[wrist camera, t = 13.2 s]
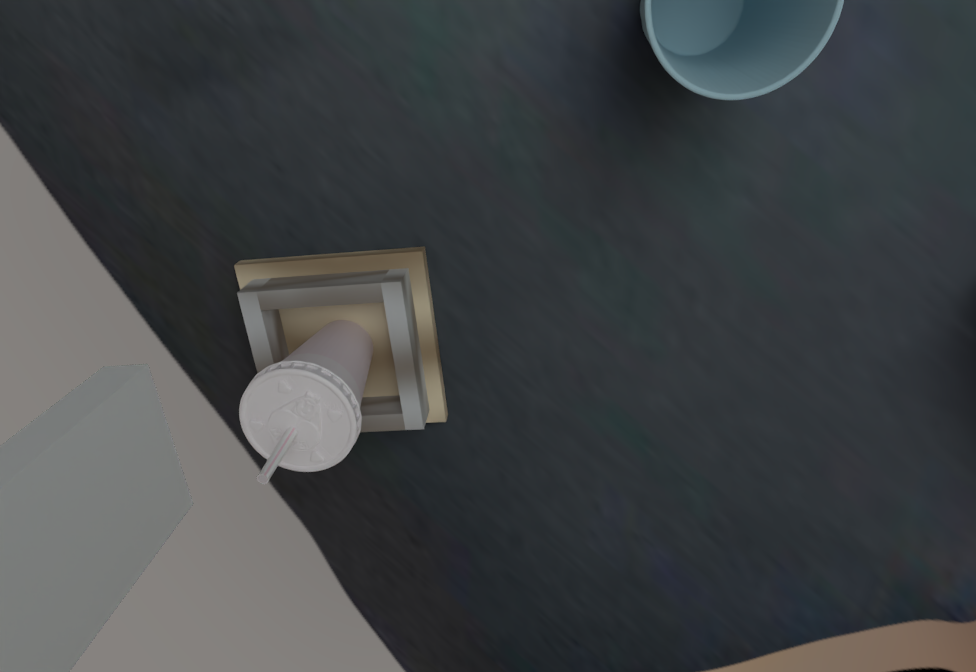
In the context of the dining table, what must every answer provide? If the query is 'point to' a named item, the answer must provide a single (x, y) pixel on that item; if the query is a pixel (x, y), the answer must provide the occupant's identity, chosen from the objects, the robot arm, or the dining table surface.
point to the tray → (366, 301)
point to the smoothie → (309, 401)
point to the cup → (737, 42)
